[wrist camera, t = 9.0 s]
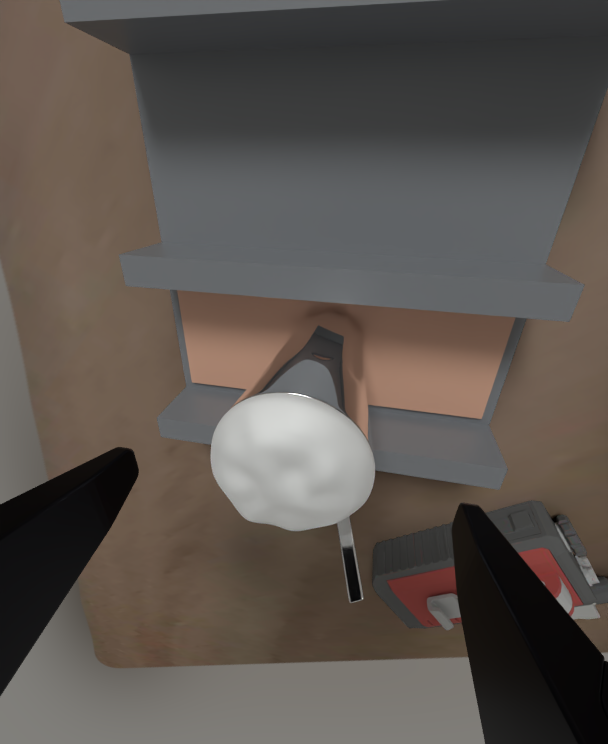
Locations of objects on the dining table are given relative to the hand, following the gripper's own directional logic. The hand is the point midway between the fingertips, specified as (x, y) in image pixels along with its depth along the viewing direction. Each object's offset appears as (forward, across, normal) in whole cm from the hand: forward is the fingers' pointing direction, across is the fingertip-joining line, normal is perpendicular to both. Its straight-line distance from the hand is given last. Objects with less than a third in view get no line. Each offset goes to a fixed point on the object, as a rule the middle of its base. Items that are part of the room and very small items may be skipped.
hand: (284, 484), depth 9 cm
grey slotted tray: (+10, 0, -4) cm, 10 cm away
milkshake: (+9, 0, 0) cm, 9 cm away
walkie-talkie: (+10, -13, +13) cm, 21 cm away
